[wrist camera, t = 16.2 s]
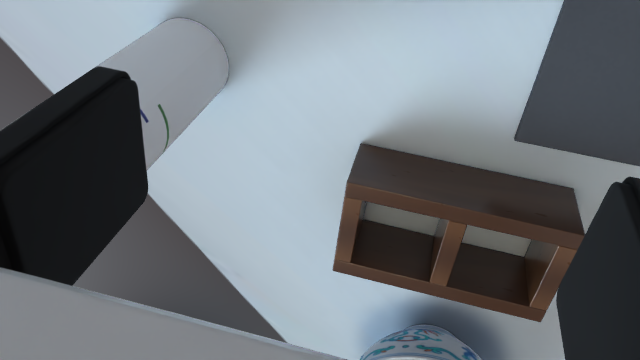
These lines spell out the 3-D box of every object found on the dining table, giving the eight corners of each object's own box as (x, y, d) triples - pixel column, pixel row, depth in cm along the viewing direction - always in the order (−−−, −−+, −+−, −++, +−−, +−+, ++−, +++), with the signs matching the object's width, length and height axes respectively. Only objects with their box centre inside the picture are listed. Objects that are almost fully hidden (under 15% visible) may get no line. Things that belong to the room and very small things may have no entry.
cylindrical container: (190, 1, 42) (-73, 174, 22) (245, 76, 45) (54, 293, 25) (132, 44, 46) (-142, 229, 25) (186, 112, 48) (-24, 329, 28)
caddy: (360, 142, 46) (346, 182, 41) (573, 188, 43) (585, 235, 38) (346, 227, 51) (332, 270, 46) (534, 272, 49) (540, 322, 44)
